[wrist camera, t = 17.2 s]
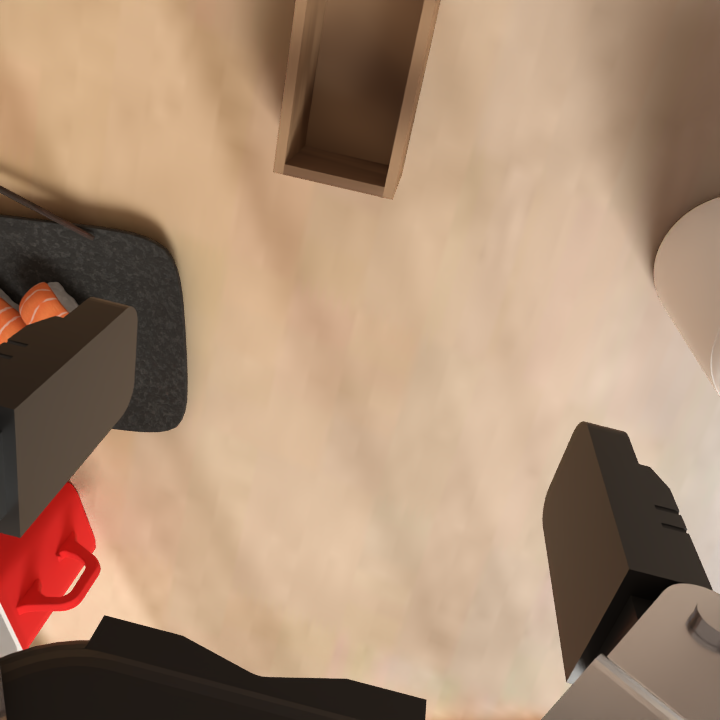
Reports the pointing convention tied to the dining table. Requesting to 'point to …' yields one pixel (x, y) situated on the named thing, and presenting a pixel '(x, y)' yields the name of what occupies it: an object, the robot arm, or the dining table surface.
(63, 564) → the mug
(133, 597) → the dining table surface
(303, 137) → the channel
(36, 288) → the sushi plate
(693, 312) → the pill bottle
